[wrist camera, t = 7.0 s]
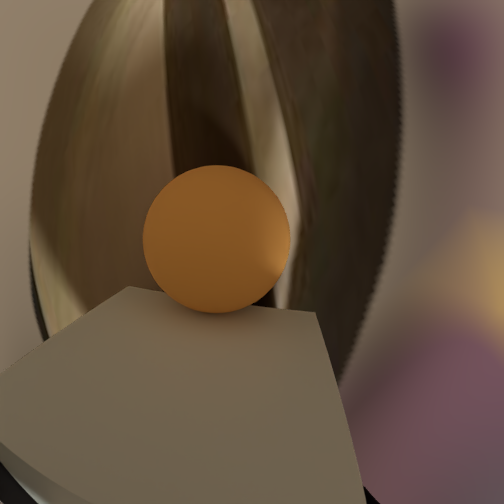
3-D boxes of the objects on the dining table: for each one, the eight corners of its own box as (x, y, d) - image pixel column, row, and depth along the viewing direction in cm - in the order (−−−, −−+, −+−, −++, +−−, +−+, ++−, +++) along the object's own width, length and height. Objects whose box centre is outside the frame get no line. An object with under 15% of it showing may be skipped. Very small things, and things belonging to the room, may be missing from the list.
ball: (276, 344, 10) (299, 261, 6) (146, 323, 10) (93, 236, 6) (285, 241, 13) (300, 145, 9) (180, 229, 13) (162, 137, 9)
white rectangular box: (283, 440, 12) (278, 587, 3) (142, 414, 12) (72, 533, 4) (315, 312, 10) (373, 539, 2) (128, 285, 11) (-38, 403, 2)
